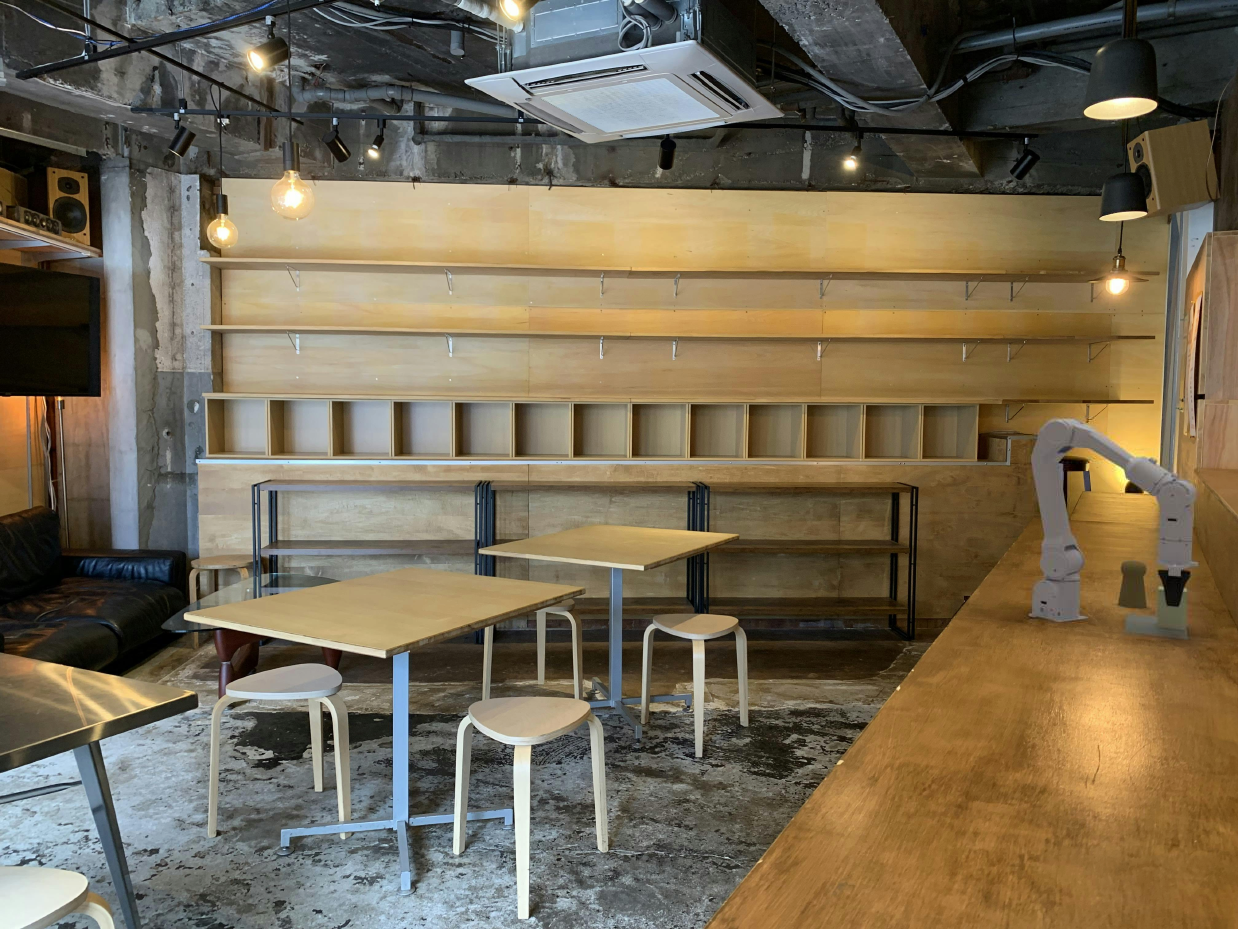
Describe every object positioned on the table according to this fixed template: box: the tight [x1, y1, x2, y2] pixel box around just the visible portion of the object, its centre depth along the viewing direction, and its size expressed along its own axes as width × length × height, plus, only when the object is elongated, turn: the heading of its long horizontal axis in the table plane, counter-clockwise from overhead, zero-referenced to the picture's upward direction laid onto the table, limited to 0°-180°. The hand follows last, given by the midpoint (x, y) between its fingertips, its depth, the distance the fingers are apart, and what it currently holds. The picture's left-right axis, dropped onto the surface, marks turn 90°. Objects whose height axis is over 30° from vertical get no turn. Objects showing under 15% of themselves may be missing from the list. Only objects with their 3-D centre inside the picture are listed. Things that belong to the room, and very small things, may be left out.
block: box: [1157, 585, 1188, 630], centre depth 186 cm, size 4×5×8 cm
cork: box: [1117, 560, 1148, 610], centre depth 207 cm, size 6×6×11 cm
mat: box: [1123, 613, 1189, 641], centre depth 188 cm, size 20×11×1 cm, turn 149°
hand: (1172, 606), depth 181 cm, fingers closed
